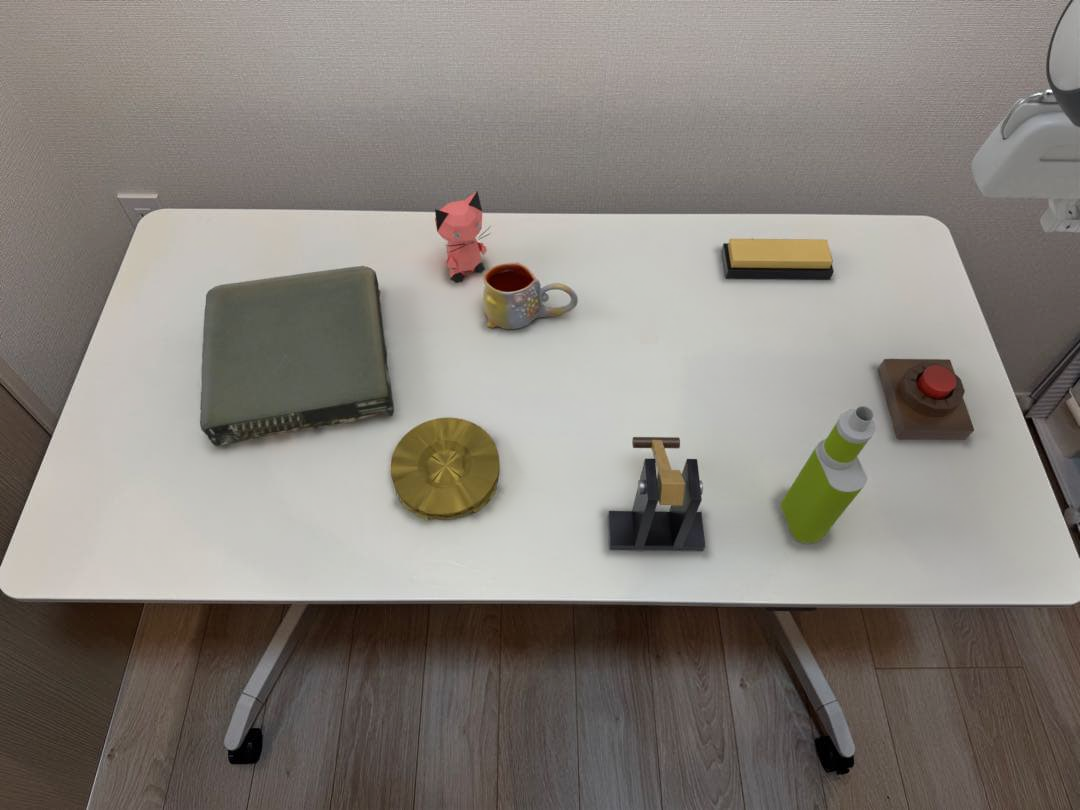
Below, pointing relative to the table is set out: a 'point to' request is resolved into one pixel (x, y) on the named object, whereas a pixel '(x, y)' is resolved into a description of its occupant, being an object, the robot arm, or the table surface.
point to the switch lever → (664, 468)
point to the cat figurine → (462, 235)
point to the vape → (829, 478)
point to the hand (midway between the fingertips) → (1058, 227)
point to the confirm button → (936, 382)
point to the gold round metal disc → (445, 468)
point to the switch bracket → (660, 516)
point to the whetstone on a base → (777, 259)
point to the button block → (923, 402)
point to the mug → (519, 297)
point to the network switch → (293, 354)
